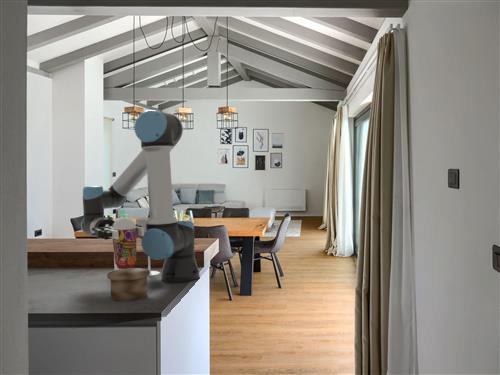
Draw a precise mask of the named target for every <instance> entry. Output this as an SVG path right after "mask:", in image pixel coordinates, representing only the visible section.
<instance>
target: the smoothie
mask: <svg viewBox="0 0 500 375" xmlns="http://www.w3.org/2000/svg"><path fill="white" fill-rule="evenodd" d="M121 210H122V213H121V214H123V217H121V218H118V217H117V219H116V220H114V221H115V222H114V224H113V227H112V228H111V229H112V230H116V231H118V234H119V239H112V245H113V256H114V255H115V262H114V263H115V264H116V265H117V268H119V269H128V268H134V267H135V266H136V263H137V237H138V235H137V226H136V222H134V220H133V219H132V218H131V217H129V216H128V217H125V215H126V214H125V208H122V209H121Z"/></svg>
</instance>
